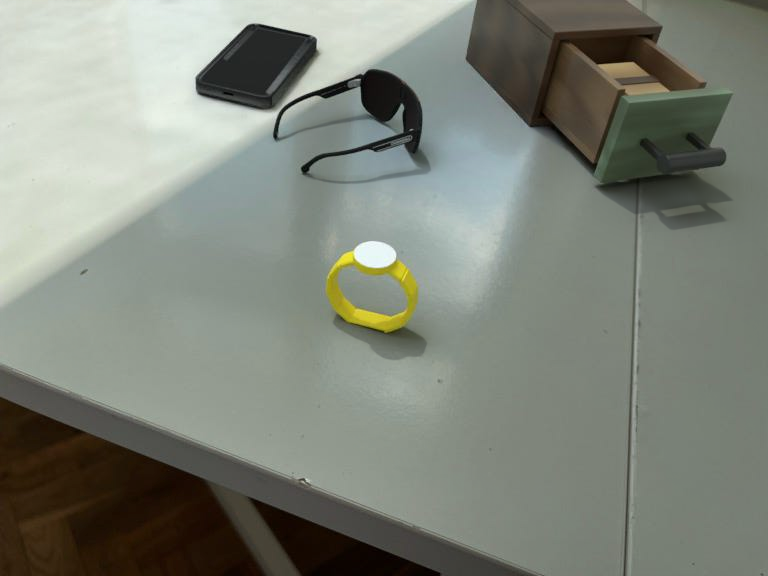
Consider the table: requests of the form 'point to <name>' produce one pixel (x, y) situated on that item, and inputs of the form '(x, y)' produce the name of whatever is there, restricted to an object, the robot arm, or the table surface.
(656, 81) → the box
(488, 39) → the cabinet
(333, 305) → the watch
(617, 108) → the drawer
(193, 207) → the table surface
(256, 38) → the phone
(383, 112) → the sunglasses
